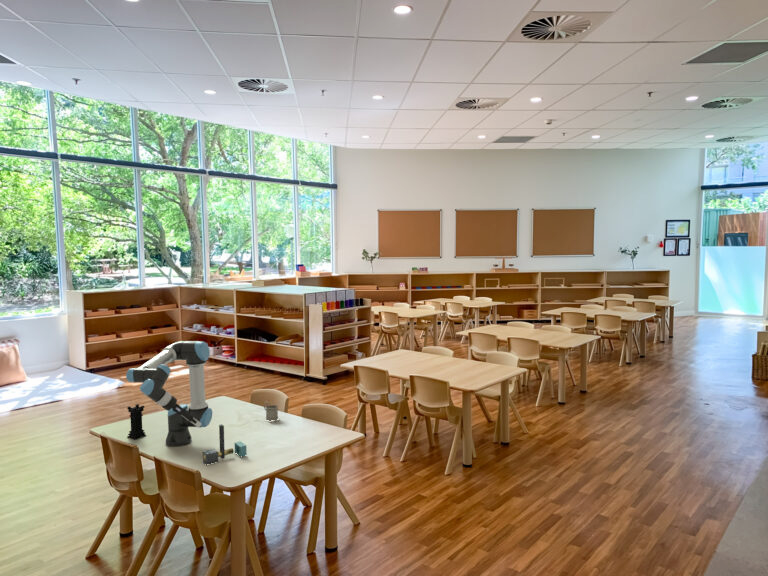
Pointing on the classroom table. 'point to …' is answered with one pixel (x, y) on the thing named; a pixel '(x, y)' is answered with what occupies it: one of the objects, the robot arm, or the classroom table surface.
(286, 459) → the classroom table surface
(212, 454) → the graphite sleeve
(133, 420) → the chess piece
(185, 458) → the classroom table surface
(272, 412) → the mug
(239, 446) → the teal socket block
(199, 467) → the classroom table surface
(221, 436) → the dark grey post stand
